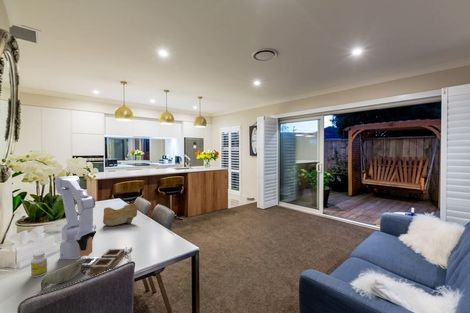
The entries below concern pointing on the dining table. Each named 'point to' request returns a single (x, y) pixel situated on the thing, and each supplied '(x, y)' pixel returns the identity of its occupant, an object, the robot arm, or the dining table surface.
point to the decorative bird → (62, 274)
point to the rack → (107, 261)
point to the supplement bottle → (38, 264)
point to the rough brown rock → (119, 215)
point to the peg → (87, 248)
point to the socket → (88, 259)
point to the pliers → (128, 253)
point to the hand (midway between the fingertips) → (85, 248)
